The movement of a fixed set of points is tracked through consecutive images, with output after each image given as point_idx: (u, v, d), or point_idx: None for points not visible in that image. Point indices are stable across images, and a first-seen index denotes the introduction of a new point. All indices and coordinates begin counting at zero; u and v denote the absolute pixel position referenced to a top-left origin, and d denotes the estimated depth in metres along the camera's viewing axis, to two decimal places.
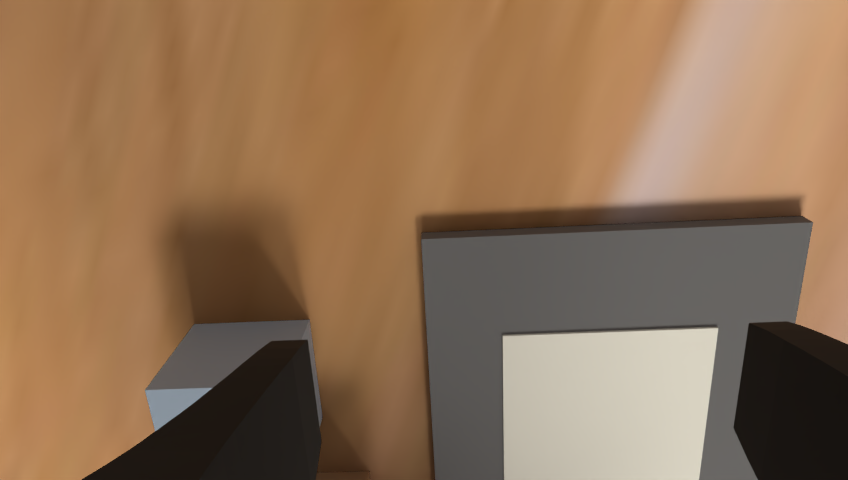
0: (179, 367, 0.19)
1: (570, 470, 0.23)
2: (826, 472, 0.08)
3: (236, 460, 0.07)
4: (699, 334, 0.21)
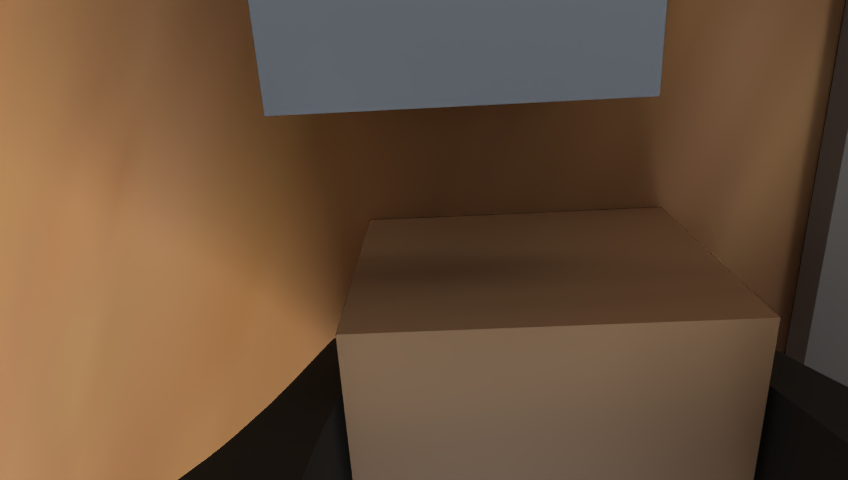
0: None
1: None
2: None
3: (325, 457, 0.07)
4: None
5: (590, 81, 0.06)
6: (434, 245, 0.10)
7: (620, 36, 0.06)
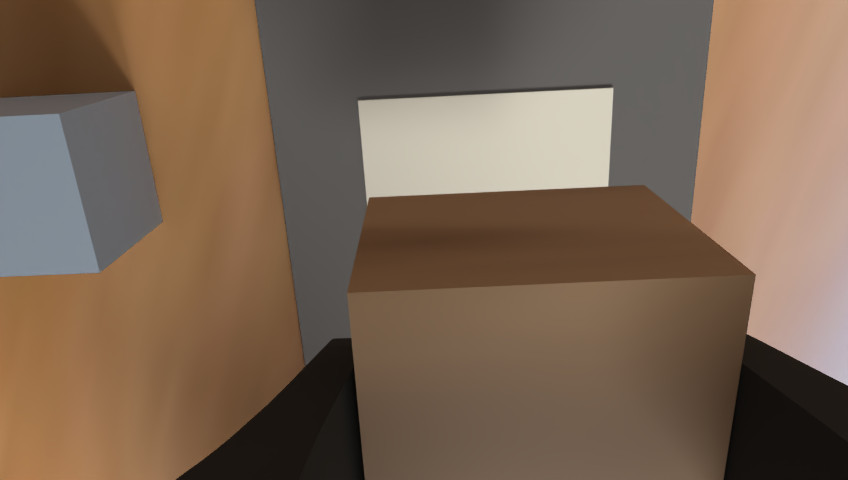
0: None
1: None
2: (748, 474, 0.08)
3: (323, 457, 0.07)
4: (591, 97, 0.17)
5: (70, 267, 0.16)
6: (433, 217, 0.10)
7: (77, 251, 0.16)
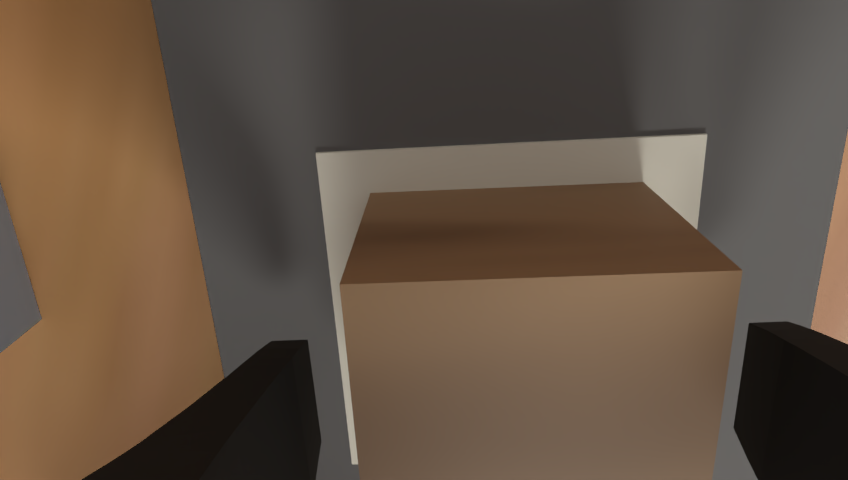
0: None
1: None
2: (826, 472, 0.08)
3: (236, 460, 0.07)
4: (673, 148, 0.11)
5: None
6: (430, 213, 0.10)
7: None
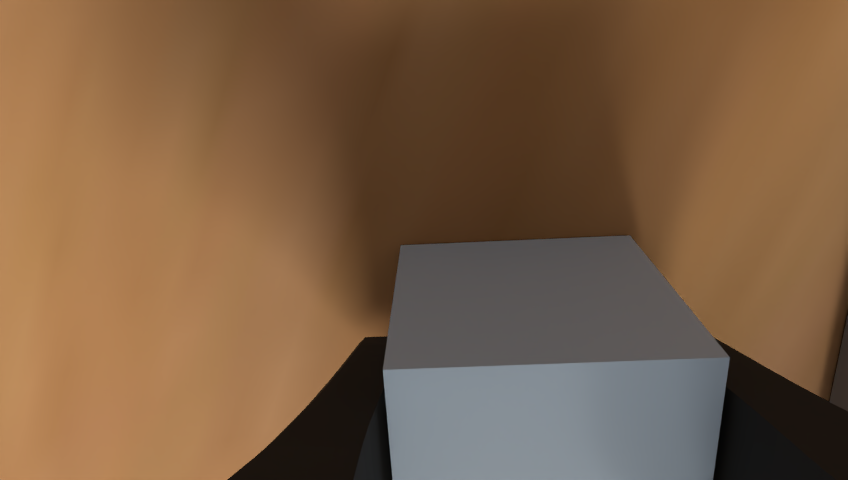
0: (432, 321, 0.08)
1: None
2: None
3: (370, 456, 0.07)
4: None
5: None
6: None
7: None
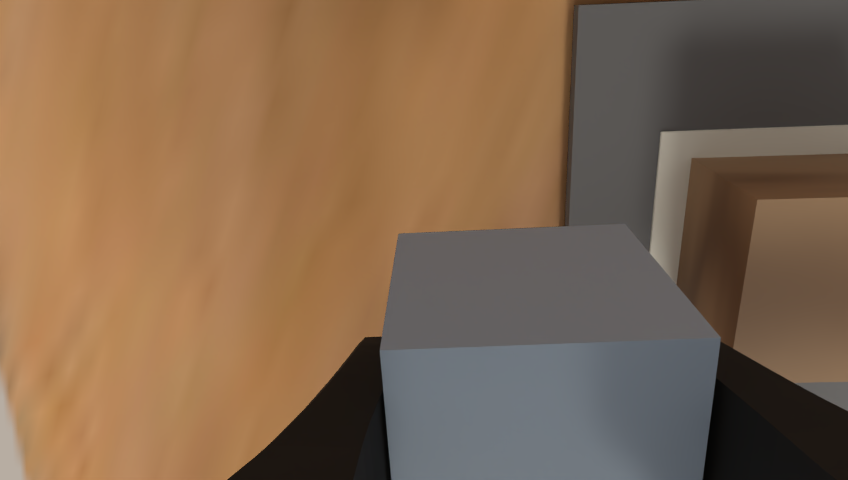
0: (428, 305, 0.09)
1: None
2: (707, 475, 0.08)
3: (370, 456, 0.07)
4: None
5: None
6: (752, 168, 0.17)
7: None
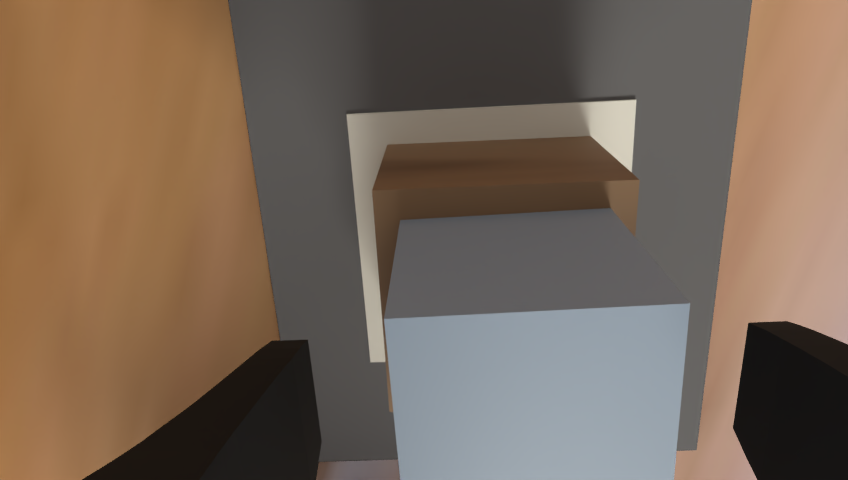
0: (428, 280, 0.09)
1: None
2: (826, 472, 0.08)
3: (237, 460, 0.07)
4: (611, 110, 0.15)
5: None
6: (432, 154, 0.14)
7: None
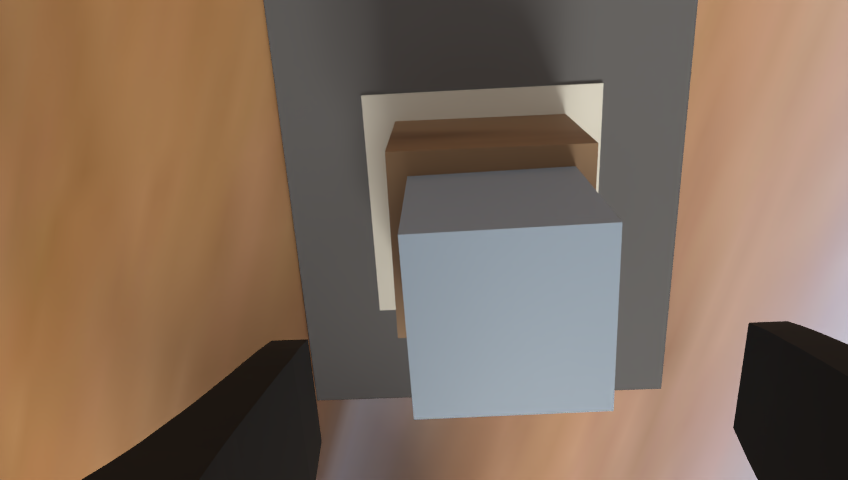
0: (430, 212, 0.12)
1: None
2: (826, 472, 0.08)
3: (236, 460, 0.07)
4: (582, 92, 0.18)
5: (578, 405, 0.13)
6: (433, 127, 0.17)
7: (592, 386, 0.12)
